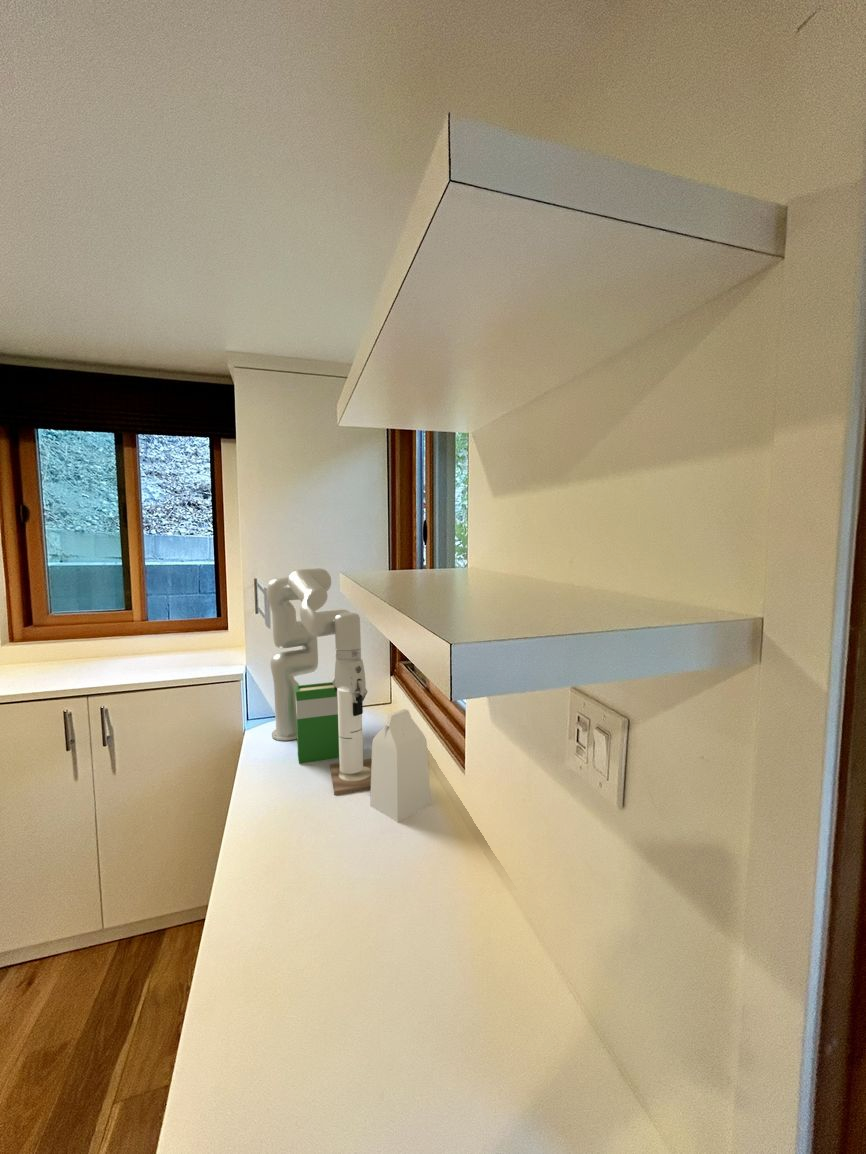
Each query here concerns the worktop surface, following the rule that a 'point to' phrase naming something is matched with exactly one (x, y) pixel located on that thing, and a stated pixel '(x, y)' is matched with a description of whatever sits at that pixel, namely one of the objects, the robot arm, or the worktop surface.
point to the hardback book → (317, 722)
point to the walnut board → (351, 779)
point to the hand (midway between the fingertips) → (350, 711)
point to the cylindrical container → (349, 734)
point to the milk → (399, 768)
